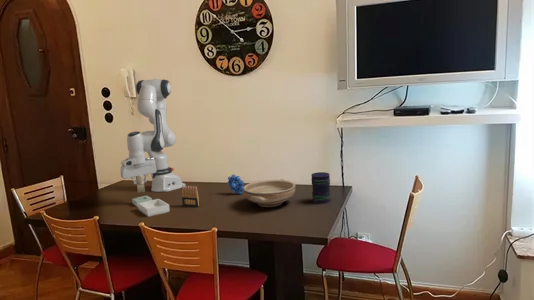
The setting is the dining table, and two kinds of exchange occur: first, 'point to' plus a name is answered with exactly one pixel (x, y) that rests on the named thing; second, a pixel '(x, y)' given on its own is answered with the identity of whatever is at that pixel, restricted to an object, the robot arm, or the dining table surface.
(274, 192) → the ceramic bowl
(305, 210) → the dining table surface
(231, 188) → the grapes
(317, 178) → the storage jar
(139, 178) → the dowel
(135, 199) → the holder
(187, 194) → the ammunition clip
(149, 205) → the tray
